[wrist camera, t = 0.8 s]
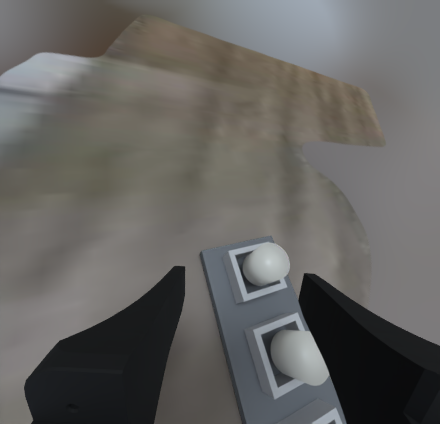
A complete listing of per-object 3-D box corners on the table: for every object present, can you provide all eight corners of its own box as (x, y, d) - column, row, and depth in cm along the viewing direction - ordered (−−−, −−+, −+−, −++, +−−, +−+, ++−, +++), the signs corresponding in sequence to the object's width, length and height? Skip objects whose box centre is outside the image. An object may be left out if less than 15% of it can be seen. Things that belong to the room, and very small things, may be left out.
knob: (271, 289, 22) (289, 284, 19) (240, 280, 21) (253, 274, 18) (273, 257, 24) (290, 248, 21) (244, 249, 23) (257, 238, 20)
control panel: (357, 467, 20) (398, 497, 16) (271, 538, 16) (301, 595, 13) (266, 239, 29) (280, 228, 26) (199, 254, 26) (205, 244, 22)
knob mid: (305, 379, 19) (332, 390, 16) (268, 370, 18) (290, 380, 15) (304, 334, 20) (329, 336, 18) (271, 325, 20) (291, 326, 17)
